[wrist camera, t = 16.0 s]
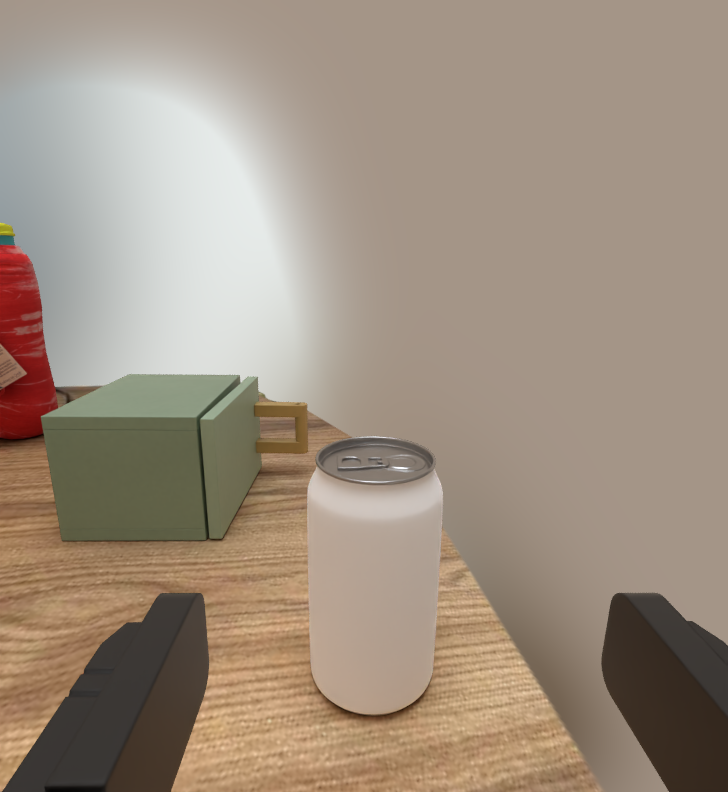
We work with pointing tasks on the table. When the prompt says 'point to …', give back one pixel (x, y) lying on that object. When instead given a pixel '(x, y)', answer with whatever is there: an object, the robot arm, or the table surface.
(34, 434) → the water bottle
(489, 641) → the table surface
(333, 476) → the can
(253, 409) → the cabinet door
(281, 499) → the table surface
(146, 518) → the cabinet
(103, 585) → the table surface
